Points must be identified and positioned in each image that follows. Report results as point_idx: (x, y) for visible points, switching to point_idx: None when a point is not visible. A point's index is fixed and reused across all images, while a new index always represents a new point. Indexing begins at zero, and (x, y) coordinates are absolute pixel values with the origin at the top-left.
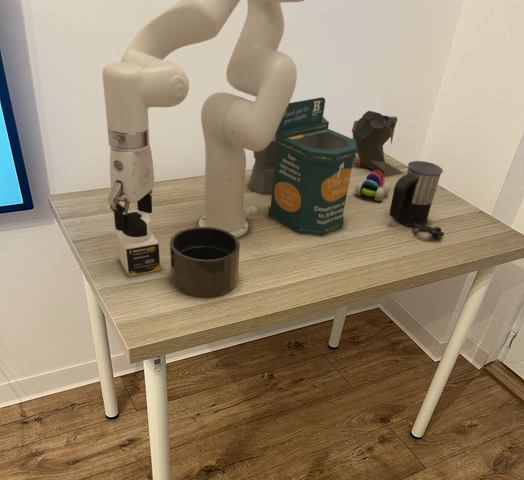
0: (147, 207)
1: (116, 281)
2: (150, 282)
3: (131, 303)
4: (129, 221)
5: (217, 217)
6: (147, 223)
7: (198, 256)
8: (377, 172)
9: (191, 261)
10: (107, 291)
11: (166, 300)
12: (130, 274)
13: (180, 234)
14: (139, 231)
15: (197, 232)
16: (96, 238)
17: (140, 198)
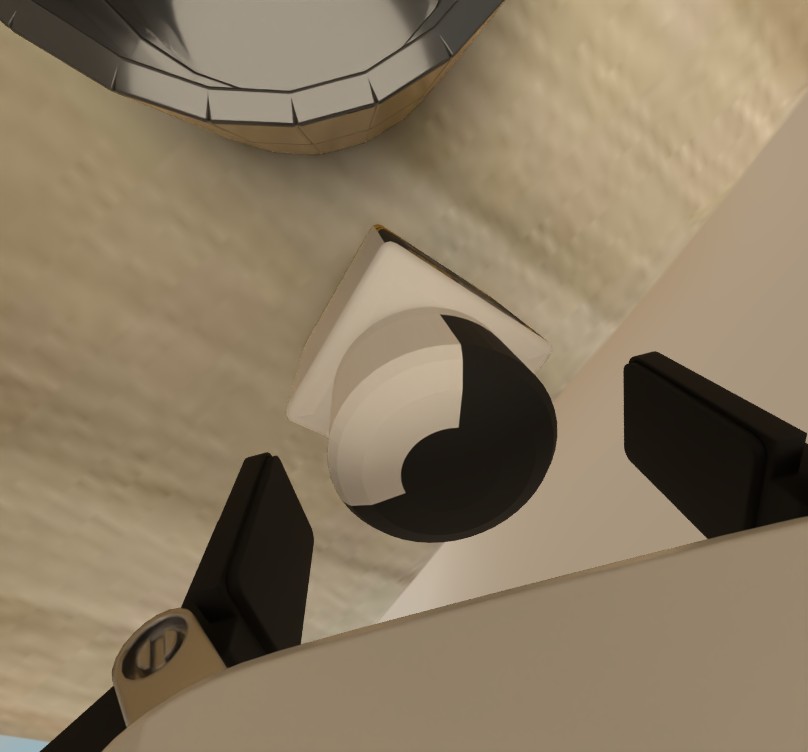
0: (276, 503)
1: (545, 316)
2: (480, 193)
3: (658, 149)
4: (719, 393)
5: None
6: (448, 345)
7: (167, 51)
8: None
9: None
10: (619, 294)
11: (574, 4)
12: (492, 298)
13: (246, 91)
14: (507, 348)
15: (46, 1)
16: (349, 557)
17: (761, 545)
